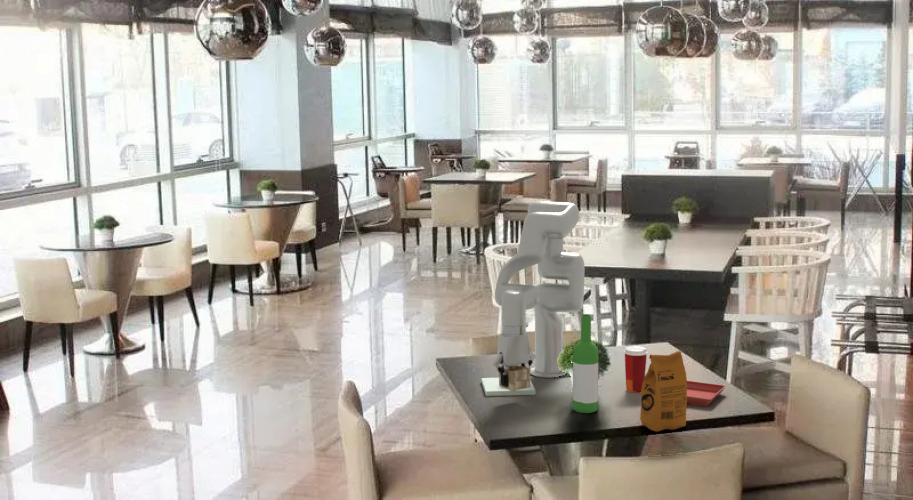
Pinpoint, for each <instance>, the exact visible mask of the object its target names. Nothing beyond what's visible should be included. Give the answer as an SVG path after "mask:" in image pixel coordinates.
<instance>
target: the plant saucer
mask: <svg viewBox="0 0 913 500" xmlns="http://www.w3.org/2000/svg"><path fill="white" fill-rule="evenodd" d="M725 388H726V385H723V384H715V383H707V382H699V381H693V380H691V381H690V380H687V403H689V404H688V405H694V404H695V405H694V406H703V407H707V406H708V405H709V404H710V403H712V402H713V401H714V400H715V399H716V398H717V397H718V396H720V394H721V393H722V392H723V391H724V390H725Z"/></svg>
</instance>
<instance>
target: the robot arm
mask: <svg viewBox="0 0 913 500" xmlns="http://www.w3.org/2000/svg"><path fill="white" fill-rule="evenodd" d="M579 219H580V210H579V207H578V206H577V204H575V203H572V202H567V201H566V202H563V201H544V200H543V201H533V202H531V203H529V205H528V207H527V215H526V216H525V218H524V222H523V226H522V231H521V235H520V239H519V240H520V241H519V244H518V250H517V252H516V254H515V255H514V256H512V257H511V258H510V259H508V261H506V263H505V264H504V265H503V267H502V268H501V270H500V271H499V273H498V277H497V281H496V284H495V291H494V299H495V303H496V304H497V305H498V306H499V307H501V333H499V337H498V341H497V350H496V352H497V353H496V359H495V360H494V361H493V362H492V364H491V365H492V366H493V367H494V368H495V370H496V371H497V372H498V374H499V373H500V374H501V385H502V386H505V387H508V375H507V372H508V369H509V367H510V366H514V365H521V366H524V367H527V368H529V369H530V375H532V376H534V377H537V378H543V379H544V378H545V379H546V378H548V379H551V378H552V379H553V378H554V377H555V378H560V377H559V376H561V377H563V376H562V375H564V374H565V372H562V371H561V370H559V368H558V364H557V358H558V355H559V353H560V352H561V351H562V352H563V340H564V338H563V332H564V331H563V329H564V328H563V326H564V325H563V321H562V319H561V316H559V314H558V313H568V314H569V313H571V314H572V313H573V314H576V313H579V312H581V311H582V308H583V306H584V299H585V298H584V297H585V273H586V272H585V270H586V268H585V260H584V258H583V256H582V255H581V254H579V253H577V252H565V251H564V239H565V238H566V237H568V236H569V234H570V233H571V232H572V231H573V230H574V228H575V227H576V226H577V224H578V222H579ZM535 265H537V272H538V275H539V277H540V278H542V279H546V280H557V281H567V282H568V284H565V283H555V282H554V283H553V282H551V283H550V282H543V283H538V284H537V285H531V284H521V283H510V281H511V279H512V278H513V276H515V275H516V274H517V273H518V272H521V271H522V270H525V269H527V268H530V267H533V266H535ZM532 309H533V311H534V353H533V352H532V351H531V345H530V339H529V335H528V332H527V328H528V327H529V323H528V322H527V318H526V317H527V313H526V312H527V310H532ZM533 362H534V367H531V366H532V364H533ZM504 367H505V369H504ZM564 376H565V375H564ZM555 378H554V379H555Z"/></svg>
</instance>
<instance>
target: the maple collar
mask: <svg viewBox="0 0 913 500" xmlns="http://www.w3.org/2000/svg"><path fill="white" fill-rule="evenodd" d="M504 369H505V367H504ZM530 369H531V368H530ZM530 369H529V368H527V367H524V366H521V364H519V365H514V366H510V367H509V369H508V372H507V375H508V387H505V386H502V385H501V374H500V373H499V372H498V378H499V386H501V387H503V388H505V389H508V390H510V391H516V390H520V389H524V388H529V387H530V380H531V373H530Z"/></svg>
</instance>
